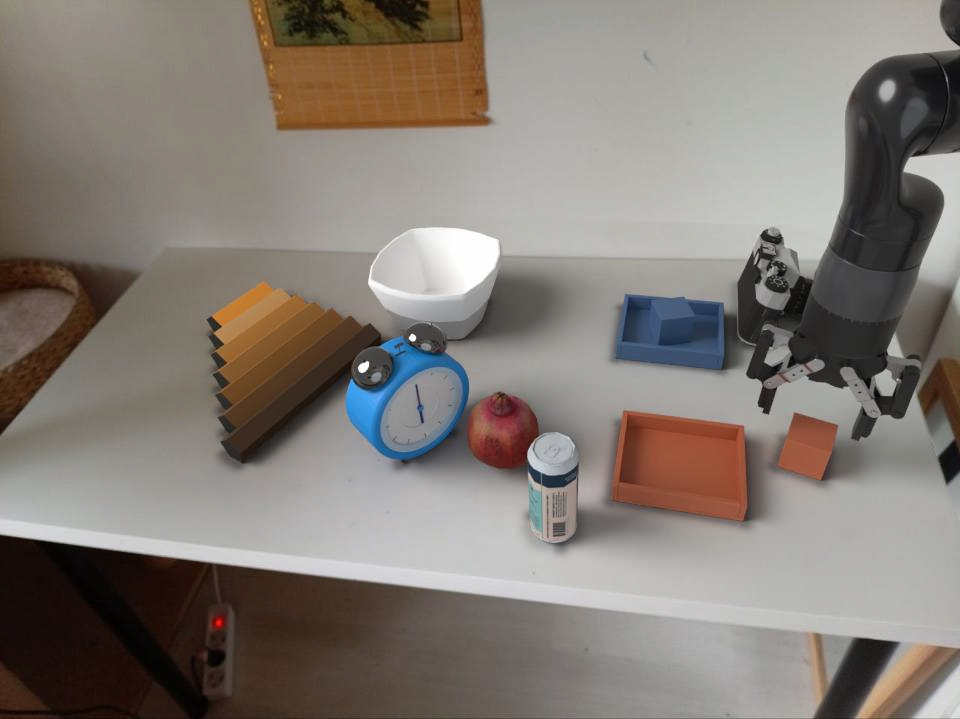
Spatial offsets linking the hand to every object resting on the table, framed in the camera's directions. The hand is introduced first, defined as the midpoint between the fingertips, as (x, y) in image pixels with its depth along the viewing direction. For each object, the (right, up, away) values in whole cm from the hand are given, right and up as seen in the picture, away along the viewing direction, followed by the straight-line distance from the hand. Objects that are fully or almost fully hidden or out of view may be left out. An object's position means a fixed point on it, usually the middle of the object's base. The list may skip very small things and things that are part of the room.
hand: (810, 421), depth 70 cm
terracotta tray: (-12, -6, +4) cm, 14 cm away
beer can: (-26, -11, 0) cm, 29 cm away
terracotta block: (+1, -5, +4) cm, 6 cm away
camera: (+7, +12, +23) cm, 27 cm away
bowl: (-39, +13, +29) cm, 51 cm away
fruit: (-31, -5, +8) cm, 32 cm away
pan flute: (-65, +5, +23) cm, 69 cm away
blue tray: (-9, +9, +21) cm, 25 cm away
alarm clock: (-42, -3, +11) cm, 43 cm away
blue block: (-9, +10, +21) cm, 25 cm away
